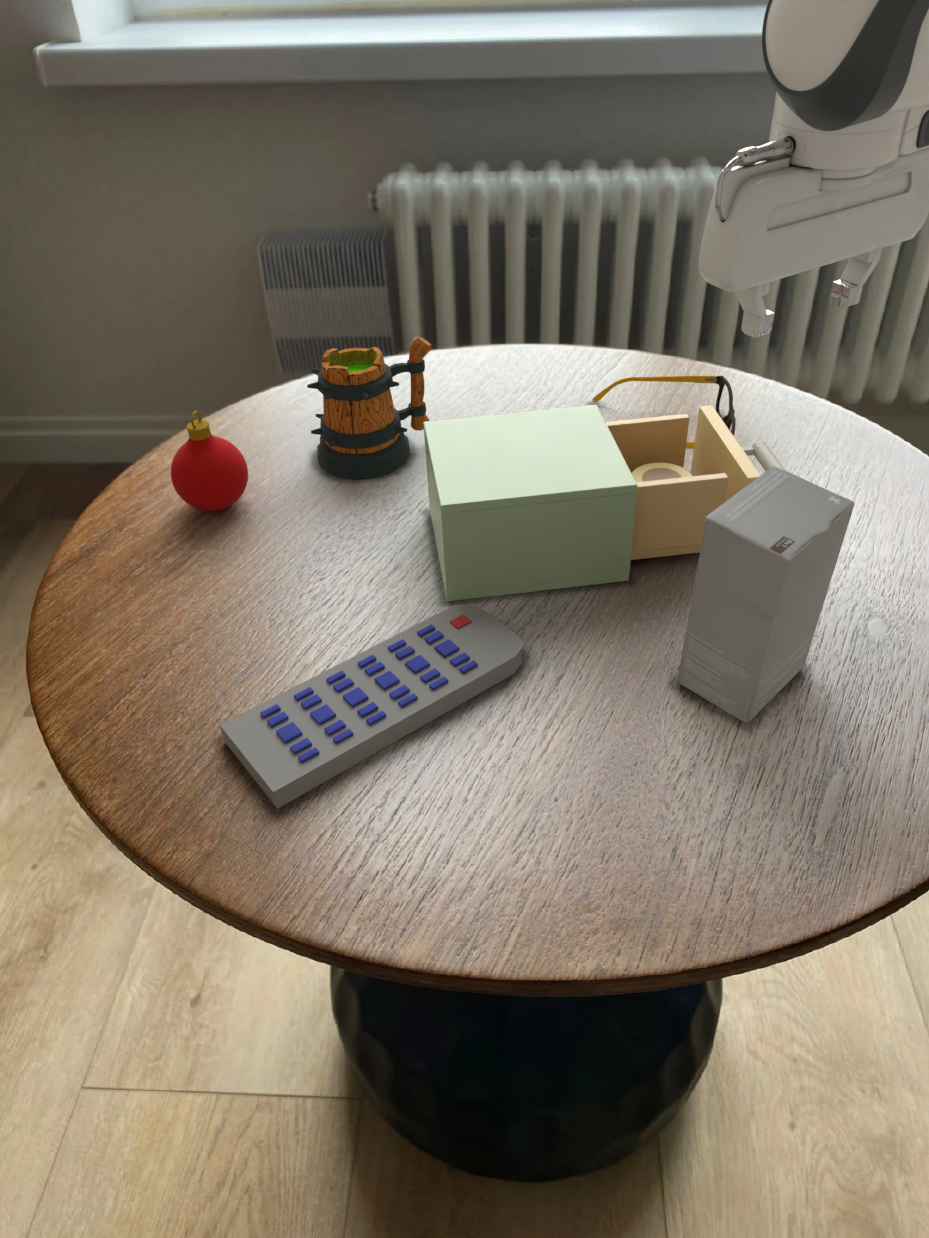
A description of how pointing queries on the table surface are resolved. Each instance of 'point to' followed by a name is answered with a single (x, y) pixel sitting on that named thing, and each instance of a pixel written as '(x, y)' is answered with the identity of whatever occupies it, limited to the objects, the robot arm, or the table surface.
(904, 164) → the robot arm
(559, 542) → the cabinet
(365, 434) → the mug
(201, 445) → the christmas ornament
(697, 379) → the eyeglasses
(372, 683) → the remote control
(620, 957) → the table surface
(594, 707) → the table surface
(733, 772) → the table surface
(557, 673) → the table surface
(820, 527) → the cosmetic box
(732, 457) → the drawer
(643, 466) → the tape
